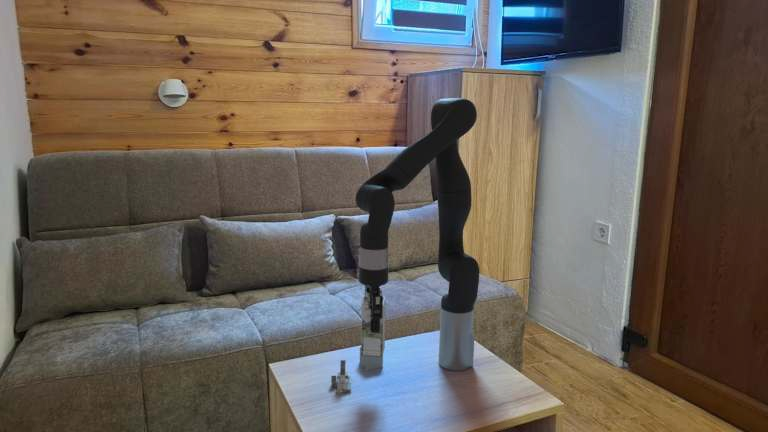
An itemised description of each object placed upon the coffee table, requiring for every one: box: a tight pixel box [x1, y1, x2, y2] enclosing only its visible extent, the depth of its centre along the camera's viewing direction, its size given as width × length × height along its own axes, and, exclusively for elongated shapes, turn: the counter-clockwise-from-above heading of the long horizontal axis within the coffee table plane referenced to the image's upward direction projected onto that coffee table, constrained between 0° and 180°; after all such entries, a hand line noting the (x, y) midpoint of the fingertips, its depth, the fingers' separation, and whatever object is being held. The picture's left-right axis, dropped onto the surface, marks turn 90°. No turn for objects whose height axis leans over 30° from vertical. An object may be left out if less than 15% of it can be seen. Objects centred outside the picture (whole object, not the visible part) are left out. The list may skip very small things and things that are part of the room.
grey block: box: [359, 346, 384, 371], centre depth 153 cm, size 5×5×5 cm
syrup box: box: [360, 295, 387, 358], centre depth 138 cm, size 6×6×14 cm
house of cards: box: [330, 359, 352, 394], centre depth 142 cm, size 9×9×8 cm
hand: (372, 326), depth 138 cm, fingers closed on syrup box, 6 cm apart
